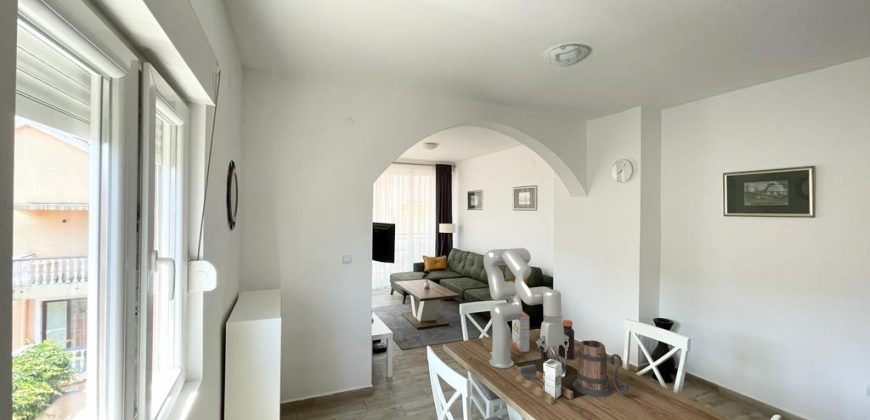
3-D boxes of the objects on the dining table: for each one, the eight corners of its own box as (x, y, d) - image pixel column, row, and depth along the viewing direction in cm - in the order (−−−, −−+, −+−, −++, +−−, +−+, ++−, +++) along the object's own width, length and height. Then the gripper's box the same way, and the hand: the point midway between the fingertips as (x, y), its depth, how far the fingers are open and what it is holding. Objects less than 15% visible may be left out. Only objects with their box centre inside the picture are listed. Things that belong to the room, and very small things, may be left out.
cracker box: (511, 344, 220) (511, 309, 220) (521, 343, 220) (521, 309, 221) (519, 352, 206) (519, 316, 206) (529, 352, 206) (529, 315, 207)
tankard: (566, 387, 164) (566, 343, 165) (581, 376, 177) (581, 334, 177) (622, 407, 148) (622, 358, 148) (634, 392, 160) (634, 347, 161)
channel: (515, 380, 172) (515, 367, 172) (535, 375, 176) (535, 363, 177) (551, 404, 150) (551, 390, 150) (573, 398, 155) (573, 384, 155)
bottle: (563, 354, 204) (563, 318, 204) (575, 357, 200) (575, 320, 200) (559, 357, 199) (559, 321, 199) (571, 361, 194) (571, 323, 195)
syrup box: (549, 390, 162) (549, 358, 162) (561, 395, 157) (561, 362, 158) (542, 395, 158) (542, 361, 158) (555, 400, 153) (555, 365, 154)
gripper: (561, 314, 165) (562, 352, 164) (530, 319, 158) (531, 358, 157) (573, 318, 158) (574, 358, 157) (542, 323, 151) (543, 365, 150)
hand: (553, 358), depth 157 cm, fingers open, 9 cm apart
